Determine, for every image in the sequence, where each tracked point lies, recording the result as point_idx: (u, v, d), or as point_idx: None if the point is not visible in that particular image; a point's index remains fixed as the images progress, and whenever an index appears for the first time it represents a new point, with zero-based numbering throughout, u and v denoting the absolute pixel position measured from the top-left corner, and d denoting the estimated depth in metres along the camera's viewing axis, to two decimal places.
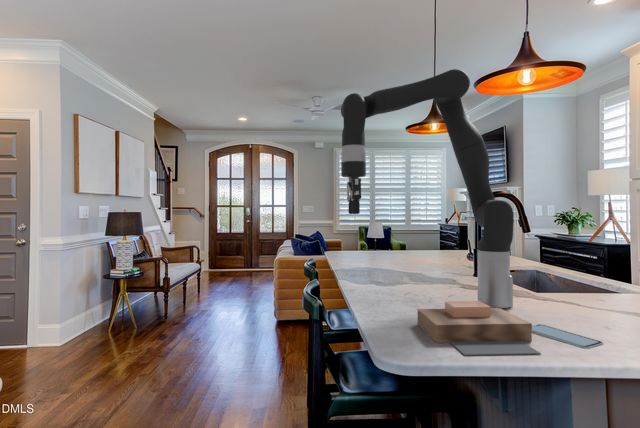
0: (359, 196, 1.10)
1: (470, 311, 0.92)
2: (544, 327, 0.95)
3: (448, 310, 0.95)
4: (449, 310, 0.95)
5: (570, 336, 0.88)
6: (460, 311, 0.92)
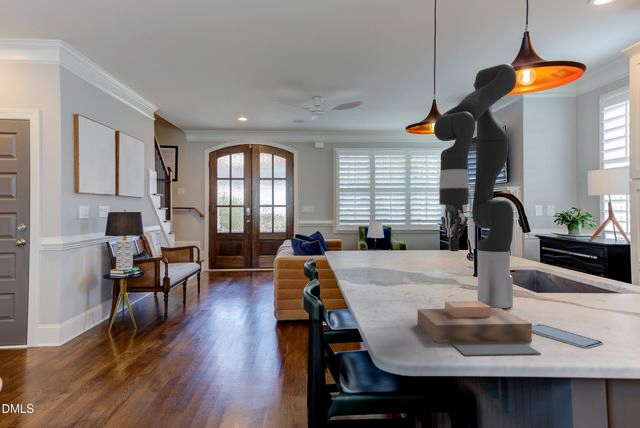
0: (460, 234, 1.00)
1: (470, 311, 0.92)
2: (544, 327, 0.95)
3: (448, 310, 0.95)
4: (449, 310, 0.95)
5: (570, 336, 0.88)
6: (460, 311, 0.92)
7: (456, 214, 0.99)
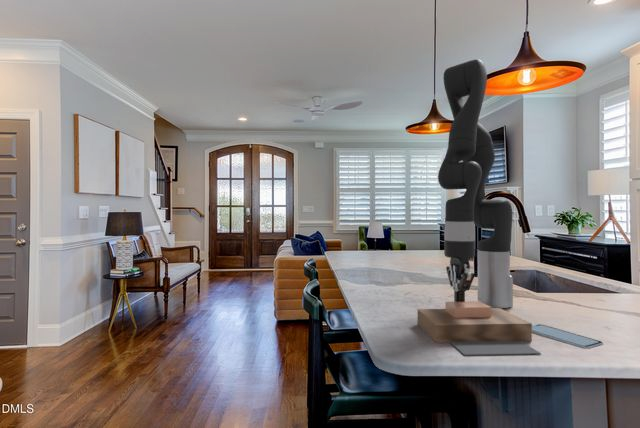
0: (467, 289, 0.96)
1: (471, 311, 0.92)
2: (544, 327, 0.95)
3: (449, 310, 0.95)
4: (449, 310, 0.94)
5: (570, 336, 0.88)
6: (461, 311, 0.91)
7: (462, 269, 0.95)
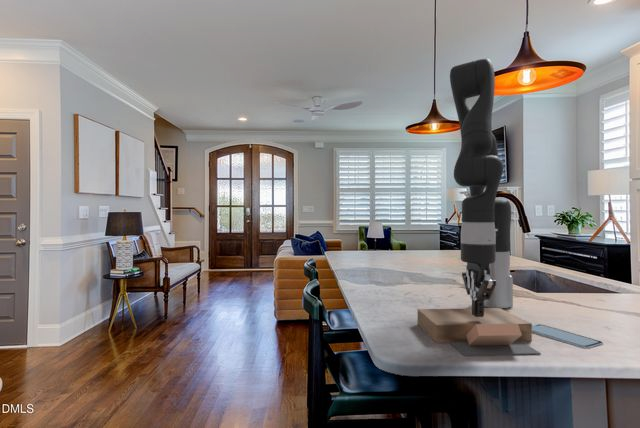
0: (487, 298, 0.86)
1: None
2: (544, 327, 0.95)
3: (472, 331, 0.81)
4: (472, 333, 0.81)
5: (570, 336, 0.88)
6: None
7: (482, 275, 0.85)
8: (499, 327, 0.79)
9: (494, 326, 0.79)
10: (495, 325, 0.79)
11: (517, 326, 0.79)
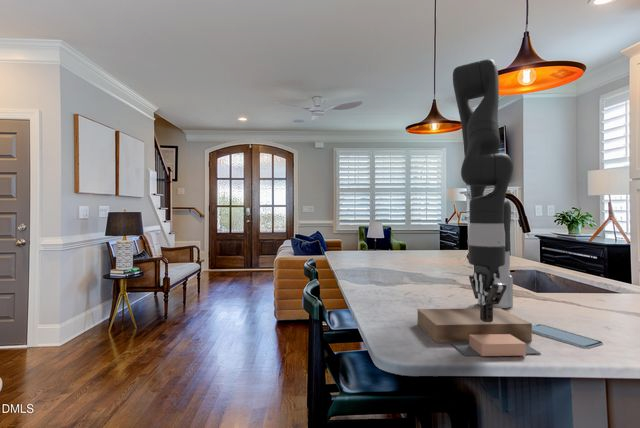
0: (496, 303, 0.82)
1: None
2: (544, 327, 0.95)
3: (476, 343, 0.79)
4: (475, 343, 0.80)
5: (570, 336, 0.88)
6: None
7: (491, 279, 0.81)
8: (505, 347, 0.77)
9: (500, 346, 0.77)
10: (502, 345, 0.77)
11: (524, 346, 0.77)
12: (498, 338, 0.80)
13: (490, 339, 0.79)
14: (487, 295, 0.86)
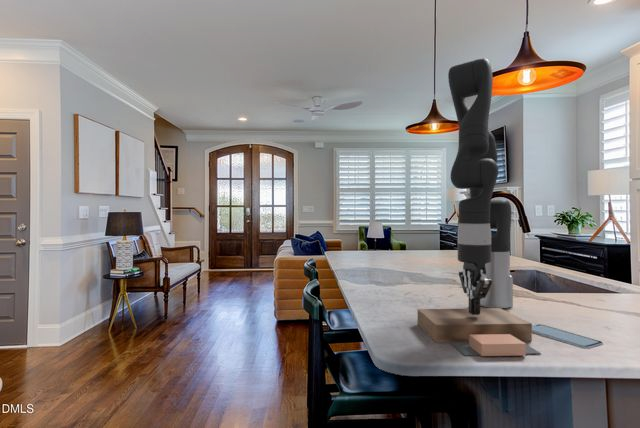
0: (483, 297, 0.89)
1: None
2: (544, 327, 0.95)
3: (476, 343, 0.79)
4: (475, 343, 0.80)
5: (570, 336, 0.88)
6: None
7: (478, 275, 0.88)
8: (505, 347, 0.77)
9: (500, 346, 0.77)
10: (502, 345, 0.77)
11: (524, 346, 0.77)
12: (498, 338, 0.80)
13: (490, 339, 0.79)
14: (475, 290, 0.93)
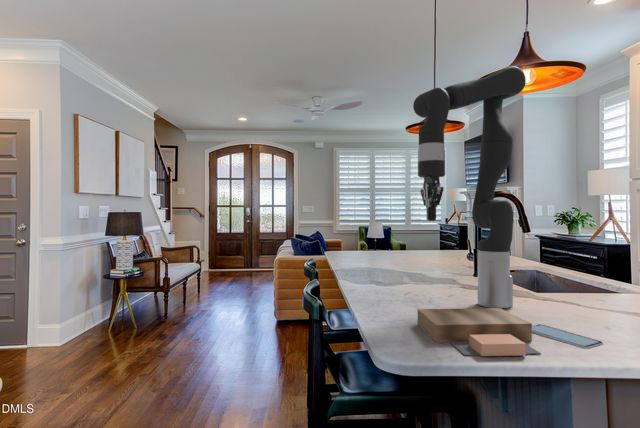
0: (437, 204, 1.06)
1: None
2: (544, 327, 0.95)
3: (476, 343, 0.79)
4: (475, 343, 0.80)
5: (570, 336, 0.88)
6: None
7: (433, 185, 1.06)
8: (505, 347, 0.77)
9: (500, 346, 0.77)
10: (502, 345, 0.77)
11: (524, 346, 0.77)
12: (498, 338, 0.80)
13: (490, 339, 0.79)
14: None
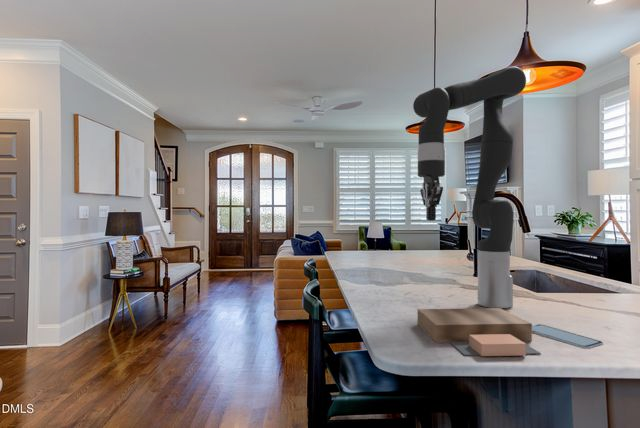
0: (437, 203, 1.07)
1: None
2: (544, 327, 0.95)
3: (476, 343, 0.79)
4: (475, 343, 0.80)
5: (570, 336, 0.88)
6: None
7: (432, 184, 1.06)
8: (505, 347, 0.77)
9: (500, 346, 0.77)
10: (502, 345, 0.77)
11: (524, 346, 0.77)
12: (498, 338, 0.80)
13: (490, 339, 0.79)
14: None
